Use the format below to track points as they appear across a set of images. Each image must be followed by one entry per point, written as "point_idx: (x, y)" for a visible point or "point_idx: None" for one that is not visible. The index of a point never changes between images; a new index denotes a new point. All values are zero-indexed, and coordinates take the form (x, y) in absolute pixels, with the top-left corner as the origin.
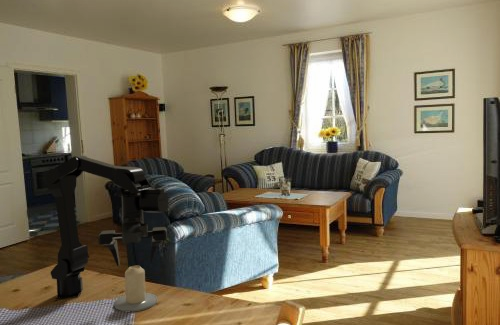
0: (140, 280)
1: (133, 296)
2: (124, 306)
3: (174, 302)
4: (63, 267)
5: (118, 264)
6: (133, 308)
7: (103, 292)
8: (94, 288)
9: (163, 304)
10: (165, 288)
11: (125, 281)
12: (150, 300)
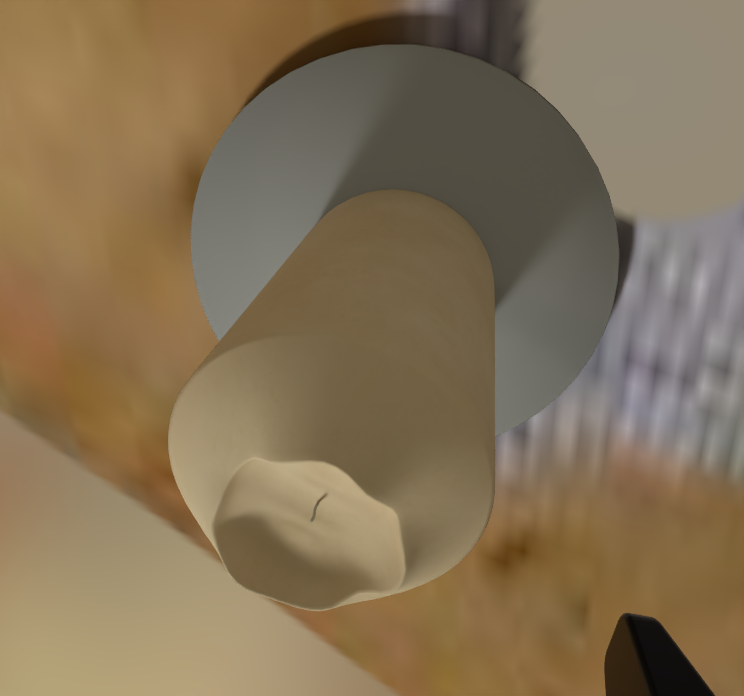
0: (262, 300)
1: (405, 213)
2: (517, 159)
3: (36, 158)
4: None
5: (640, 647)
6: (420, 60)
7: (667, 596)
8: (726, 688)
9: (132, 144)
10: (163, 484)
11: (491, 378)
12: (249, 228)
